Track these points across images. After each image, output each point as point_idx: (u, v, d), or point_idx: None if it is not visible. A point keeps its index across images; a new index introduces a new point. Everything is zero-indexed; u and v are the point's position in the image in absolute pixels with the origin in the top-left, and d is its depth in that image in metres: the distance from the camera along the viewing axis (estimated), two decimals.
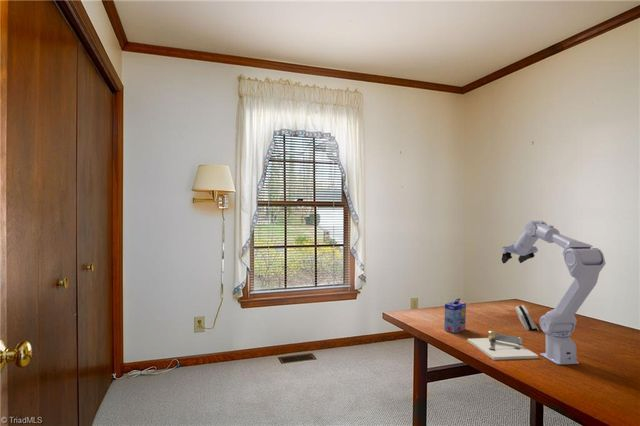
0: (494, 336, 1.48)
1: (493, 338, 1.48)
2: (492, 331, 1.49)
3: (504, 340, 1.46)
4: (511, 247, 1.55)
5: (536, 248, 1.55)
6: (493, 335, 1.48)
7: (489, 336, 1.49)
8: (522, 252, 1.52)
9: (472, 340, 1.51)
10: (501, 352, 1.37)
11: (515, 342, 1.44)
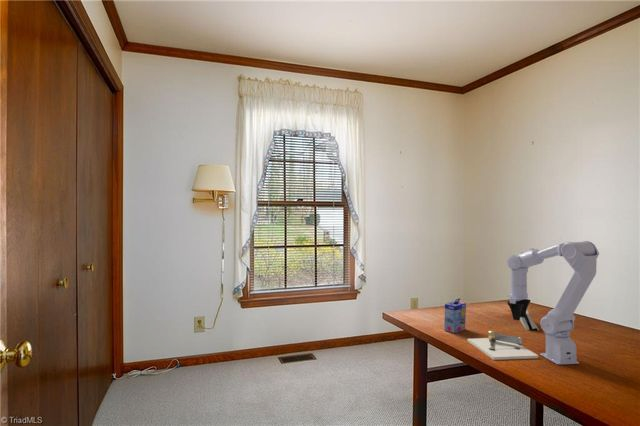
0: (494, 336, 1.48)
1: (493, 338, 1.48)
2: (492, 331, 1.49)
3: (504, 340, 1.46)
4: (512, 297, 1.47)
5: None
6: (493, 335, 1.48)
7: (489, 336, 1.49)
8: (525, 294, 1.46)
9: (472, 340, 1.51)
10: (501, 352, 1.37)
11: (515, 342, 1.44)
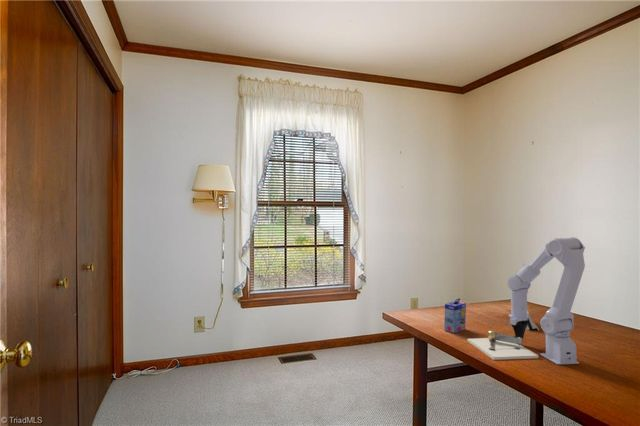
0: (494, 336, 1.48)
1: (493, 338, 1.48)
2: (492, 331, 1.49)
3: (504, 340, 1.46)
4: None
5: None
6: (493, 335, 1.48)
7: (489, 336, 1.49)
8: (525, 315, 1.46)
9: (472, 340, 1.51)
10: (501, 352, 1.37)
11: (515, 342, 1.44)
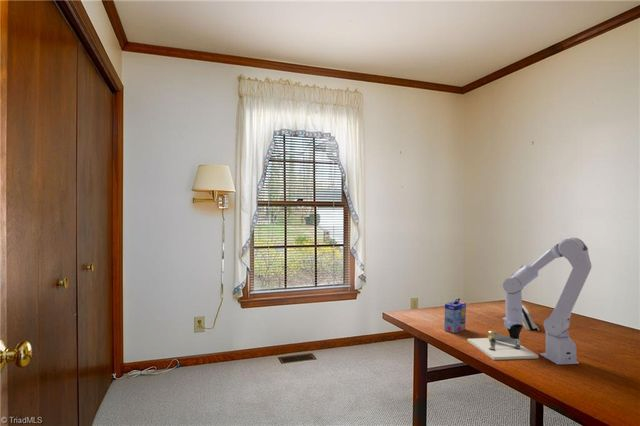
0: (493, 336, 1.48)
1: (492, 338, 1.48)
2: (492, 331, 1.49)
3: (503, 341, 1.45)
4: (507, 321, 1.43)
5: None
6: (492, 335, 1.48)
7: (488, 336, 1.49)
8: (520, 318, 1.42)
9: (472, 340, 1.51)
10: (501, 352, 1.37)
11: (513, 343, 1.42)
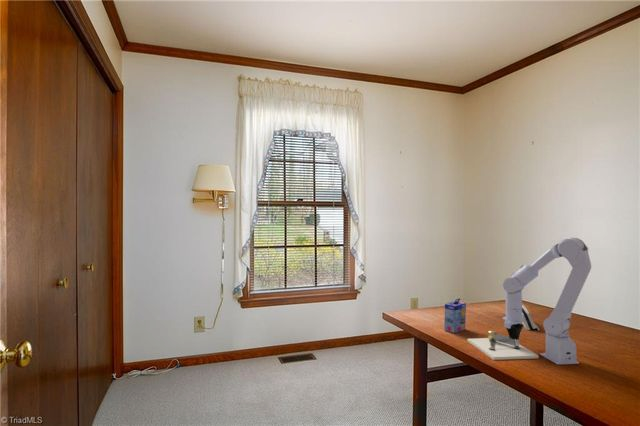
0: (493, 336, 1.48)
1: (492, 338, 1.48)
2: (492, 331, 1.49)
3: (502, 341, 1.45)
4: None
5: None
6: (492, 335, 1.48)
7: (488, 336, 1.49)
8: (520, 318, 1.42)
9: (472, 340, 1.51)
10: (501, 352, 1.37)
11: (512, 344, 1.42)
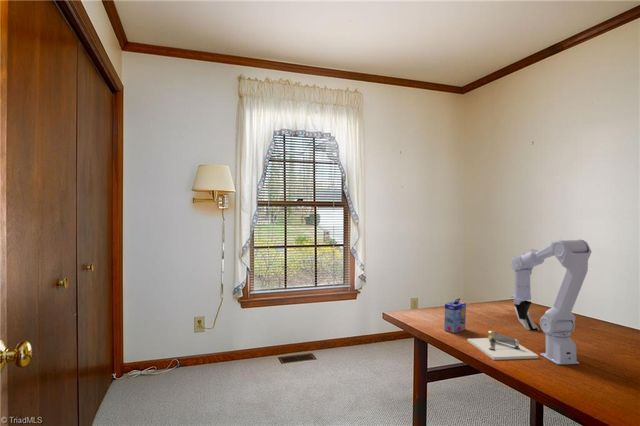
0: (493, 336, 1.48)
1: (492, 338, 1.48)
2: (492, 331, 1.49)
3: (502, 341, 1.45)
4: None
5: None
6: (492, 335, 1.48)
7: (488, 336, 1.49)
8: (528, 295, 1.48)
9: (472, 340, 1.51)
10: (501, 352, 1.37)
11: (512, 344, 1.42)
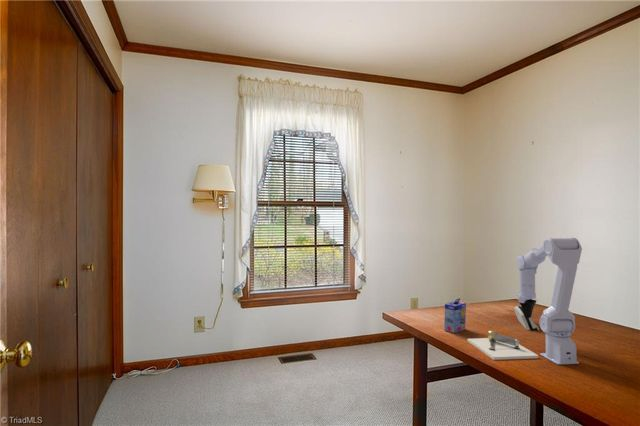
0: (493, 336, 1.48)
1: (492, 338, 1.48)
2: (492, 331, 1.49)
3: (502, 341, 1.45)
4: (521, 297, 1.52)
5: None
6: (492, 335, 1.48)
7: (488, 336, 1.49)
8: (533, 294, 1.51)
9: (472, 340, 1.51)
10: (501, 352, 1.37)
11: (512, 344, 1.42)
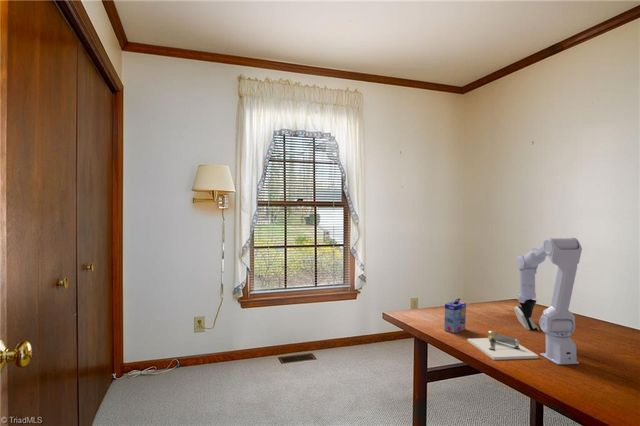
0: (493, 336, 1.48)
1: (492, 338, 1.48)
2: (492, 331, 1.49)
3: (502, 341, 1.45)
4: (521, 297, 1.52)
5: None
6: (492, 335, 1.48)
7: (488, 336, 1.49)
8: (533, 294, 1.51)
9: (472, 340, 1.51)
10: (501, 352, 1.37)
11: (512, 344, 1.42)
